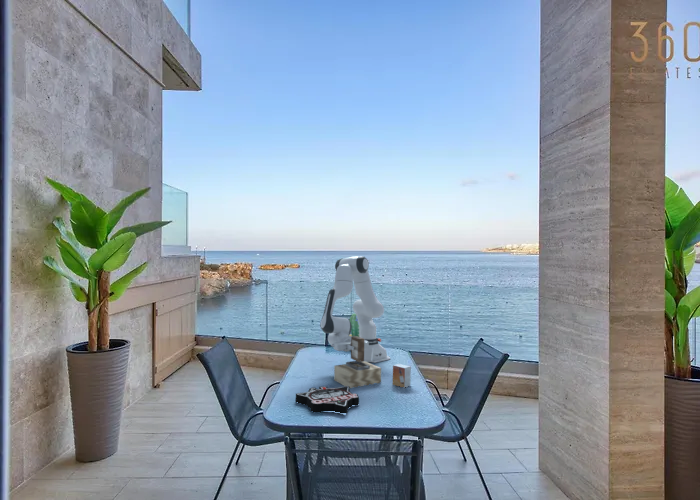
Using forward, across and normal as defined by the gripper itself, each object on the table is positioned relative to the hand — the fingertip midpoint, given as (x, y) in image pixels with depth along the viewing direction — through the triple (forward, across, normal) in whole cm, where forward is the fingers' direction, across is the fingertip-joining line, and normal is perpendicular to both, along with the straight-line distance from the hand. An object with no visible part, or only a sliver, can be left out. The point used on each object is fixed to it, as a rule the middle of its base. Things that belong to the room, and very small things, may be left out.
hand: (358, 348), depth 236 cm
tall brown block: (-1, 0, +6) cm, 7 cm away
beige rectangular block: (-1, 0, +18) cm, 18 cm away
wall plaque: (+23, -29, +19) cm, 42 cm away
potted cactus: (-74, +43, +18) cm, 88 cm away
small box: (+16, +17, +18) cm, 30 cm away
